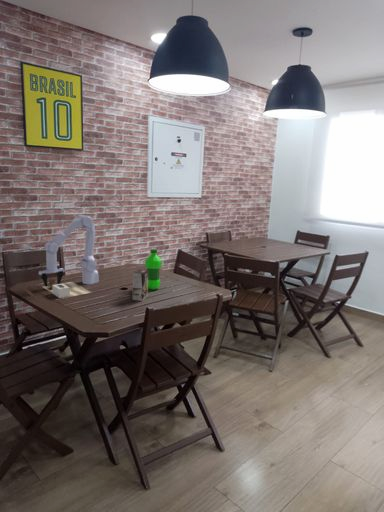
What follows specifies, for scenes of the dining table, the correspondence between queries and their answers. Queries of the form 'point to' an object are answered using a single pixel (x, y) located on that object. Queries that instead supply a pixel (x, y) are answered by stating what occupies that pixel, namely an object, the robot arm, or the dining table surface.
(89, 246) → the robot arm
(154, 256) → the plastic bottle
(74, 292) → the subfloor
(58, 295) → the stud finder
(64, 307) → the dining table surface
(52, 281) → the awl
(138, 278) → the coffee box
